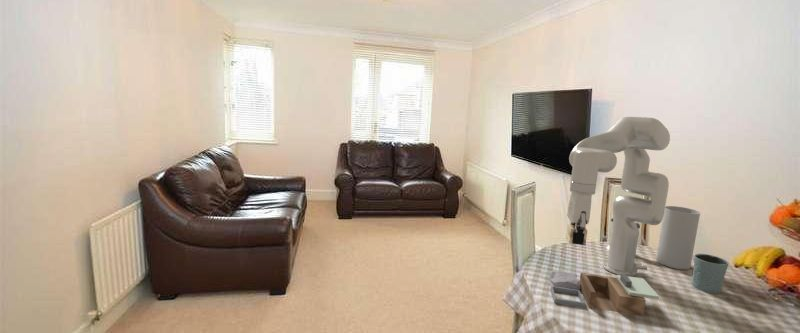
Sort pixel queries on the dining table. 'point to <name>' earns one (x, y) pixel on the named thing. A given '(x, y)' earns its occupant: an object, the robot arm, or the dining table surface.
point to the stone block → (565, 280)
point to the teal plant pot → (709, 272)
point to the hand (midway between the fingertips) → (575, 240)
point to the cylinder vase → (677, 237)
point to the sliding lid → (637, 286)
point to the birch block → (570, 234)
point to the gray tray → (567, 302)
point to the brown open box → (609, 295)
